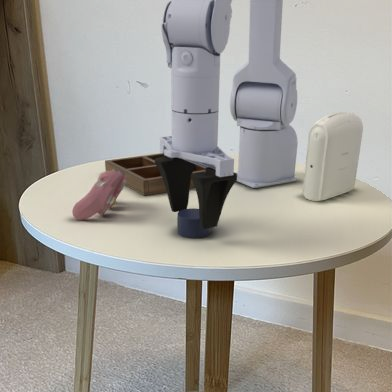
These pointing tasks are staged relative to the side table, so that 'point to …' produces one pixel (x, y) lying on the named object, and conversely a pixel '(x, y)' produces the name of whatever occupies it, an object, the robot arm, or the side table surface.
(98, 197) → the pink rounded lump
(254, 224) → the side table surface
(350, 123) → the photo printer
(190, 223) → the round container
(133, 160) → the grid
